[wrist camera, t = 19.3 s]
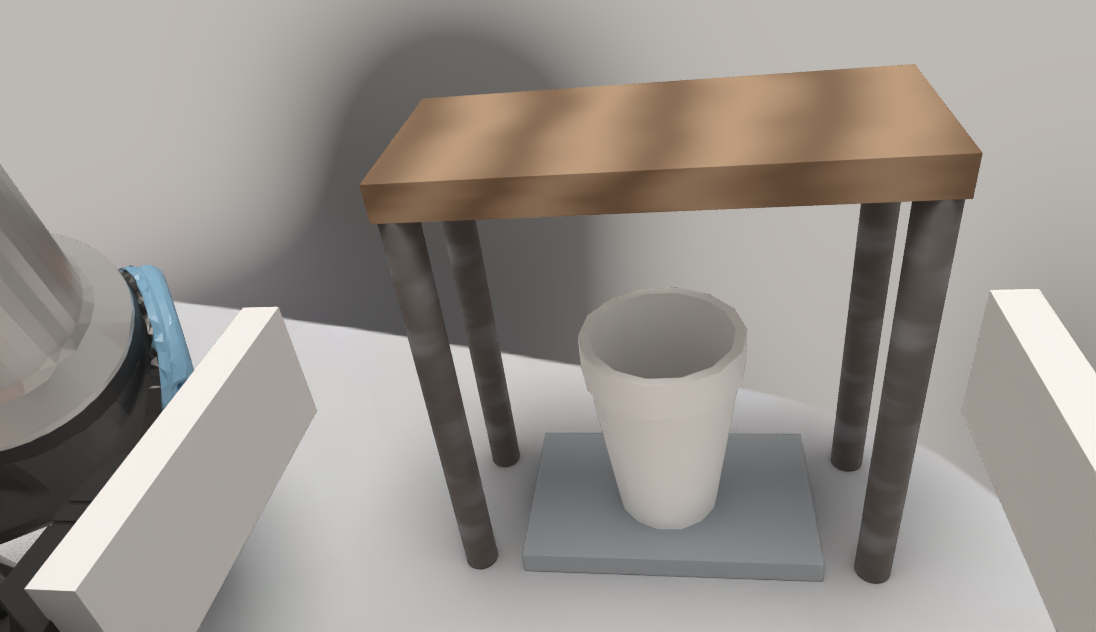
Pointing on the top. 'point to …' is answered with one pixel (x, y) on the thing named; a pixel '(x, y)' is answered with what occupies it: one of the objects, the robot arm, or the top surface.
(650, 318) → the foam cup
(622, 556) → the shelf board
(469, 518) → the wooden top stool
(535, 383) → the top surface
